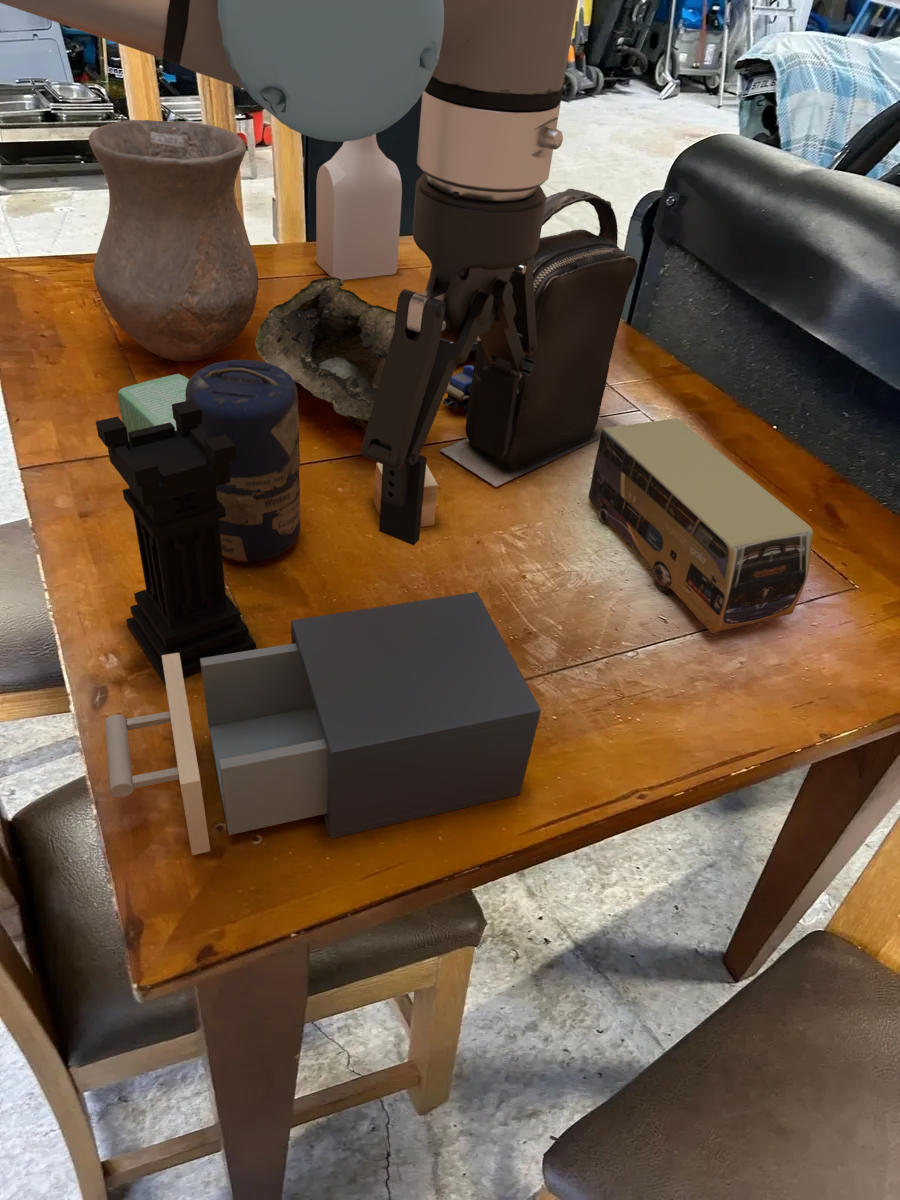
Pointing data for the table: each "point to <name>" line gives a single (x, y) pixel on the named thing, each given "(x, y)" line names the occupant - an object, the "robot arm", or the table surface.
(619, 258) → the shoulder bag
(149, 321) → the vase
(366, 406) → the hollow geode rock
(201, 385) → the canister
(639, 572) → the table surface
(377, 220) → the soap bottle
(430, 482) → the block
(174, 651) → the chess piece
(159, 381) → the box
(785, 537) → the toy bus
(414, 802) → the cabinet
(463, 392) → the toy train
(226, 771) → the drawer
